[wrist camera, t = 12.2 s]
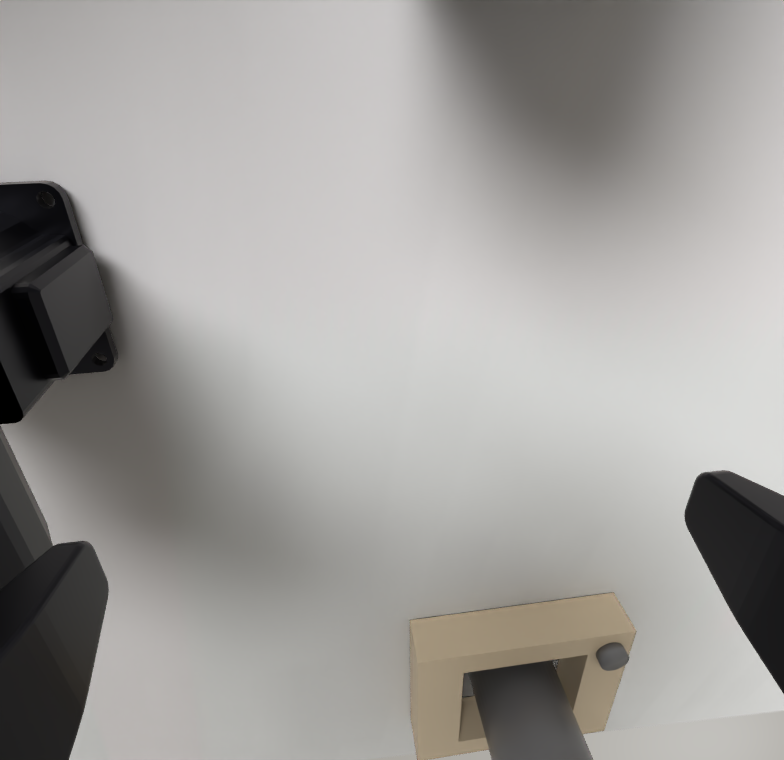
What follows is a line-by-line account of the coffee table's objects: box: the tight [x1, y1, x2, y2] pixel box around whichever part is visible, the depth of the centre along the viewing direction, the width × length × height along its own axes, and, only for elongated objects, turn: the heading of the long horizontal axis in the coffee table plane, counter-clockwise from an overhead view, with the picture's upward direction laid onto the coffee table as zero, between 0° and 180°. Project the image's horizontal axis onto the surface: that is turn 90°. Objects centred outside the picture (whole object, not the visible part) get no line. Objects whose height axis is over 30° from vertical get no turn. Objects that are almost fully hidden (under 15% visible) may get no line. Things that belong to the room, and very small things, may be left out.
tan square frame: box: [410, 593, 636, 760], centre depth 31 cm, size 12×10×3 cm
